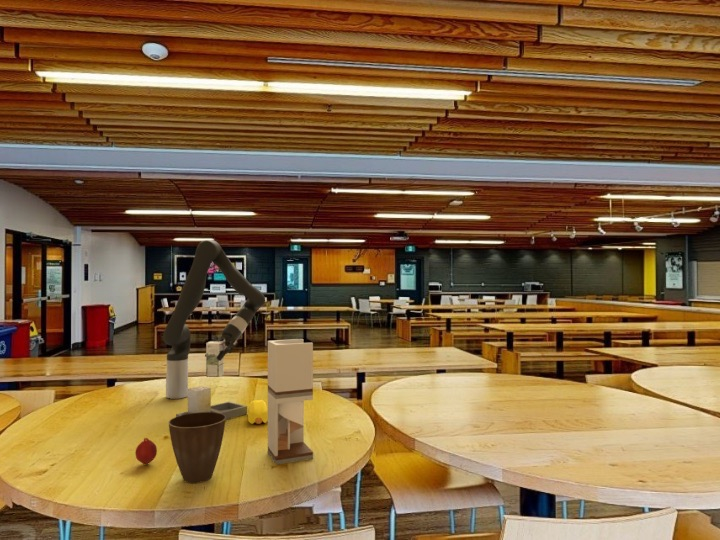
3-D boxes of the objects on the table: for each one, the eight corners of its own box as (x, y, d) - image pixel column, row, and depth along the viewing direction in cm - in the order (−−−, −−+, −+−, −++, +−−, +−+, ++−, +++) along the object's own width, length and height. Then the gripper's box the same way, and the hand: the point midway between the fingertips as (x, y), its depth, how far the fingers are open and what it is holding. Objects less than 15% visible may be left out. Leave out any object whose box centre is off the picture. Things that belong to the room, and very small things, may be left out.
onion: (139, 461, 144) (139, 434, 144) (159, 460, 144) (159, 433, 145) (132, 468, 138) (132, 440, 138) (152, 468, 139) (153, 440, 139)
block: (187, 420, 183) (187, 388, 183) (201, 416, 188) (201, 386, 188) (196, 423, 179) (196, 391, 180) (210, 419, 184) (210, 388, 184)
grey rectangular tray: (176, 422, 183) (176, 414, 183) (228, 408, 201) (228, 401, 201) (194, 428, 175) (194, 420, 175) (247, 413, 194) (247, 406, 194)
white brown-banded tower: (275, 464, 141) (275, 345, 142) (267, 452, 151) (267, 340, 151) (312, 458, 146) (312, 342, 146) (302, 447, 155) (302, 338, 156)
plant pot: (155, 484, 128) (155, 423, 128) (193, 464, 142) (194, 409, 142) (201, 493, 122) (201, 430, 123) (236, 471, 136) (236, 414, 137)
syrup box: (224, 374, 207) (224, 340, 207) (218, 377, 201) (218, 342, 201) (211, 374, 208) (211, 340, 208) (205, 377, 202) (205, 342, 202)
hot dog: (248, 427, 177) (269, 425, 179) (248, 409, 177) (269, 407, 179) (247, 413, 195) (267, 412, 196) (247, 397, 195) (267, 396, 196)
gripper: (220, 322, 215) (197, 351, 206) (240, 324, 206) (217, 354, 197) (229, 332, 219) (207, 361, 210) (250, 335, 210) (227, 365, 201)
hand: (212, 358), depth 204 cm, fingers closed on syrup box, 8 cm apart
